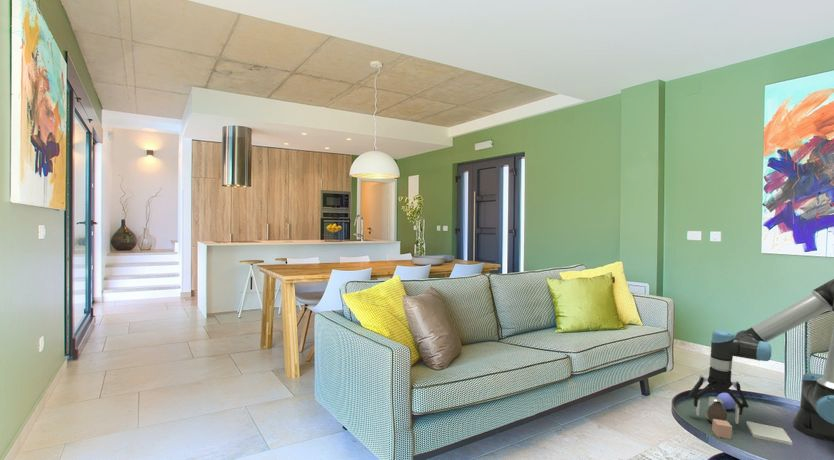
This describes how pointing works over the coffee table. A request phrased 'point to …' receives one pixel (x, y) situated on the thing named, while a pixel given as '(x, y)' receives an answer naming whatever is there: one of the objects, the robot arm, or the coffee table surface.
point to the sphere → (727, 400)
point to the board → (768, 433)
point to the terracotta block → (722, 428)
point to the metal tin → (713, 399)
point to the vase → (716, 411)
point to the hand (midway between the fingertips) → (716, 418)
